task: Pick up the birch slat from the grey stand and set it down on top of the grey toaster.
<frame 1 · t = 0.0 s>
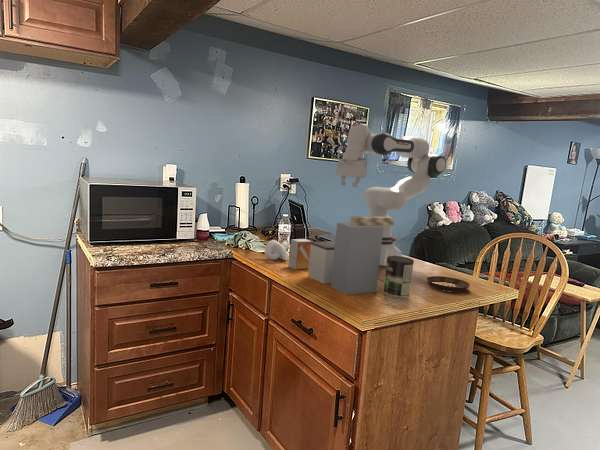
hand: (348, 186, 203), 39 cm above the countertop, tool pointing down, fingers open, 8 cm apart
plant saucer: (447, 288, 182), on the countertop
grey rounded lump: (278, 259, 211), on the countertop
grey stand: (353, 289, 168), on the countertop
coffee can: (396, 294, 167), on the countertop
birch slat: (372, 224, 167), point 26 cm above the countertop, touching grey stand
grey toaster: (333, 278, 182), on the countertop
small box: (299, 267, 197), on the countertop
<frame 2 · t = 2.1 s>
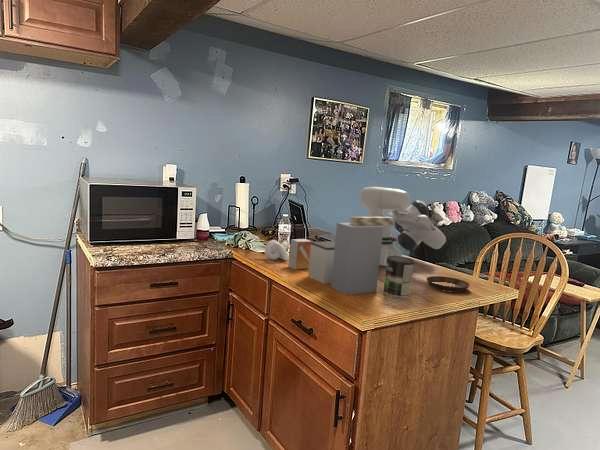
hand: (401, 211, 182), 30 cm above the countertop, tool pointing upward, fingers open, 8 cm apart
nothing on the countertop moved.
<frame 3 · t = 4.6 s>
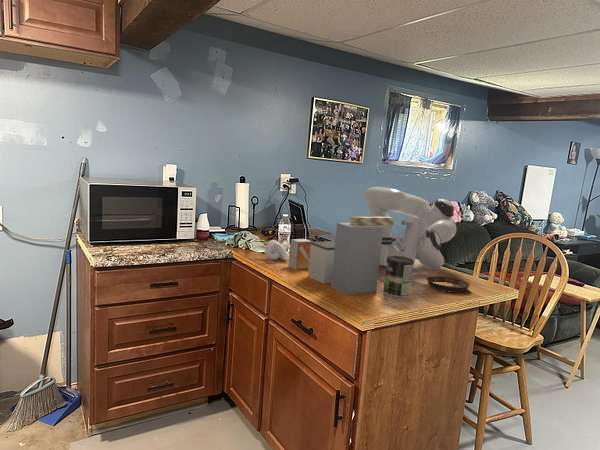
hand: (399, 230, 174), 24 cm above the countertop, tool pointing upward, fingers open, 8 cm apart
nothing on the countertop moved.
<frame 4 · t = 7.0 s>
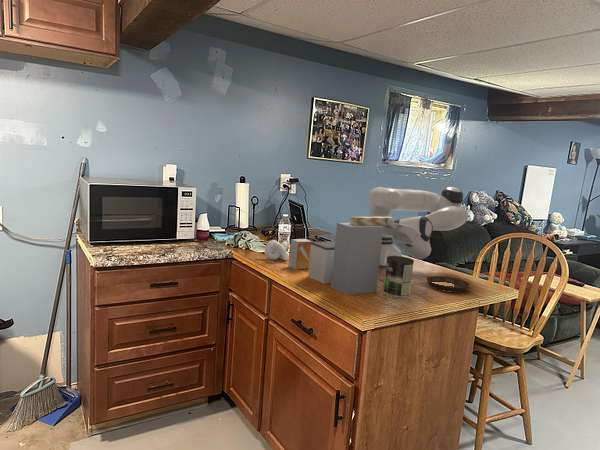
hand: (382, 219, 170), 28 cm above the countertop, tool pointing upward, fingers closed on birch slat, 3 cm apart
birch slat: (372, 224, 167), point 26 cm above the countertop, touching grey stand, gripper
everything else where it was.
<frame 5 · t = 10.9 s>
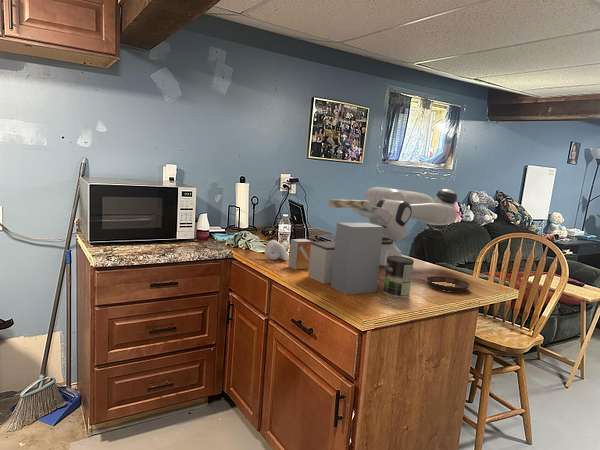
hand: (359, 202, 183), 33 cm above the countertop, tool pointing upward, fingers closed on birch slat, 3 cm apart
birch slat: (349, 207, 180), point 31 cm above the countertop, touching gripper
everything else where it was.
when the fingers open (19 cm above the countertop, at t = 14.8 s): birch slat drops 2 cm, resting on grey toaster.
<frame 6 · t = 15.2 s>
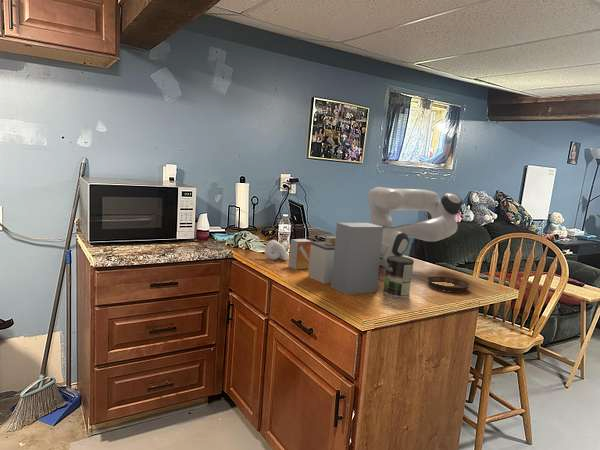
hand: (356, 234, 185), 19 cm above the countertop, tool pointing upward, fingers open, 8 cm apart
birch slat: (346, 243, 183), point 15 cm above the countertop, touching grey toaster
everything else where it was.
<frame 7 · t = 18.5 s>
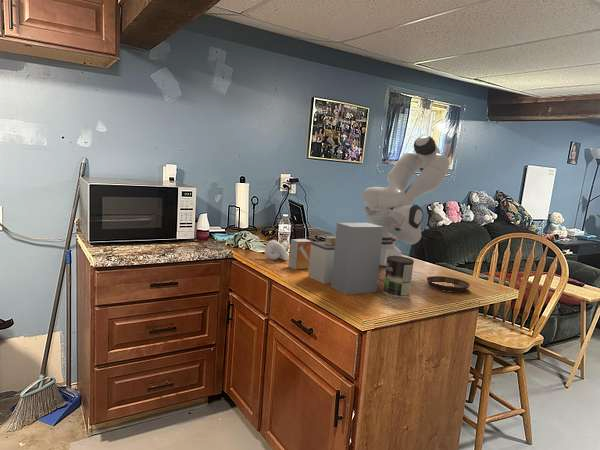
hand: (371, 207, 188), 31 cm above the countertop, tool pointing upward, fingers open, 8 cm apart
nothing on the countertop moved.
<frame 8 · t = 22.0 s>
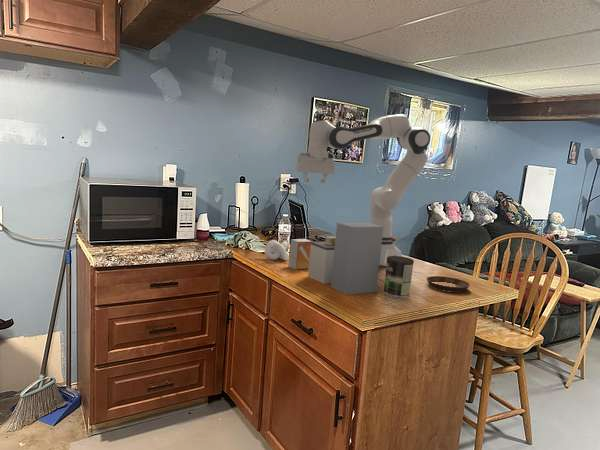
hand: (314, 182, 207), 39 cm above the countertop, tool pointing down, fingers open, 8 cm apart
nothing on the countertop moved.
at the end: birch slat inside the target area (1.6 cm from its centre), point 15.0 cm above the countertop; birch slat touching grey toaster; the gripper is holding nothing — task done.
